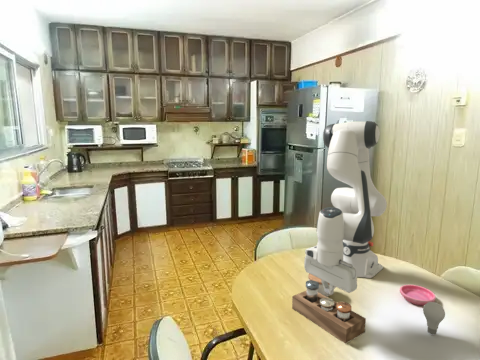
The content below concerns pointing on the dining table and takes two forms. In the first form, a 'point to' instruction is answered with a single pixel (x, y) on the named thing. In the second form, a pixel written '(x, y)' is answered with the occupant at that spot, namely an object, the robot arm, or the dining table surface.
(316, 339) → the dining table surface
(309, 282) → the grey-lidded spice jar
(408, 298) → the saucer
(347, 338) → the socket board
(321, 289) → the lidded jar
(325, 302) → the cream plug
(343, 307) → the copper-lid spice jar
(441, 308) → the lightbulb
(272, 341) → the dining table surface
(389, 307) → the dining table surface
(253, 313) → the dining table surface
